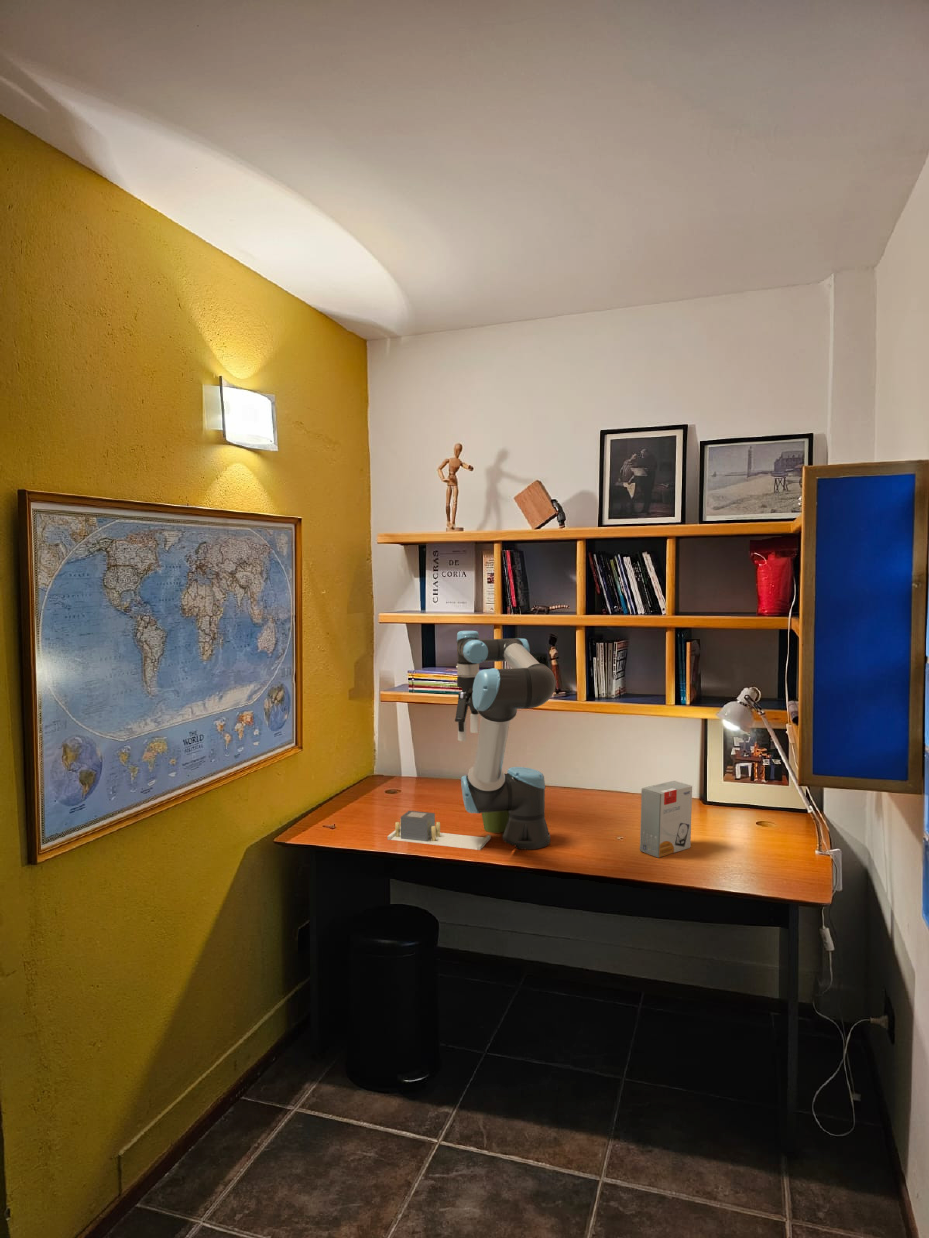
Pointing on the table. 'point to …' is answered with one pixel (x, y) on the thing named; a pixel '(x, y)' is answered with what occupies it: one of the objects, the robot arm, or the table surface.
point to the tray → (444, 838)
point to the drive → (417, 825)
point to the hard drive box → (665, 818)
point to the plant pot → (495, 821)
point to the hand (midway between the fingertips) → (468, 736)
